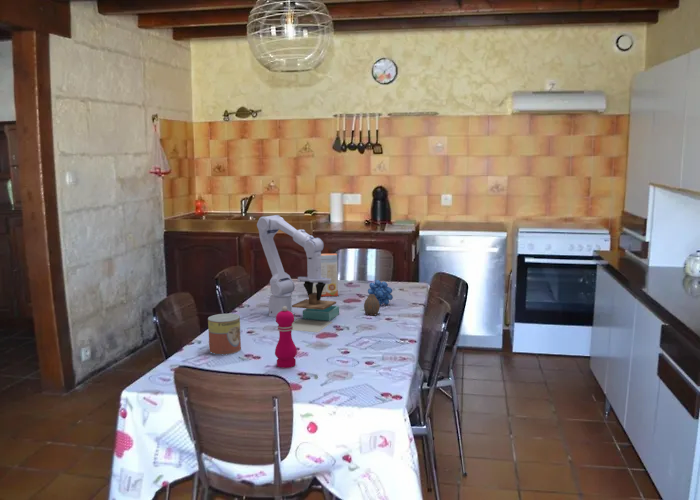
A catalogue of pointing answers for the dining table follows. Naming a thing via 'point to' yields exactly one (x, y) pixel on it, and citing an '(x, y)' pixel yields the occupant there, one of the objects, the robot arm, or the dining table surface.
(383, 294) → the grapes
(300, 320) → the mat
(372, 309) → the brown egg-shaped piece
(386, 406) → the dining table surface
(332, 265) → the cracker box
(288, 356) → the pepper mill
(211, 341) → the canned food
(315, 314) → the dish
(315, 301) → the lid
